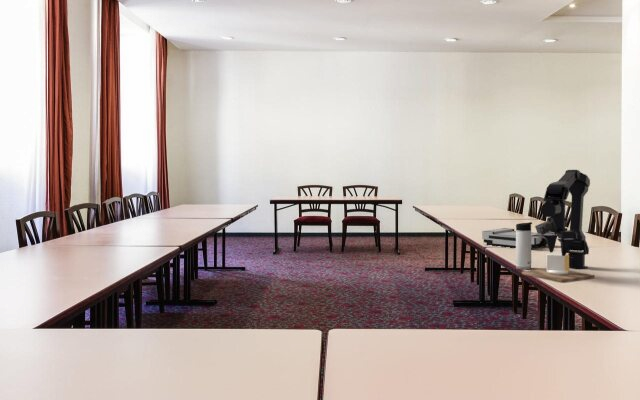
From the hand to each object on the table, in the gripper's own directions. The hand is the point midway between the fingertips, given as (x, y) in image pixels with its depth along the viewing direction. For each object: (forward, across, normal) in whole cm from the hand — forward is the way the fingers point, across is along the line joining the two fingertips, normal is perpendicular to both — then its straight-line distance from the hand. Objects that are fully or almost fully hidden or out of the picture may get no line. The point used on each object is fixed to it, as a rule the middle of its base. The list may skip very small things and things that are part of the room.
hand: (557, 254), depth 226 cm
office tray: (+9, -83, +24) cm, 87 cm away
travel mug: (+9, -18, -5) cm, 21 cm away
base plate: (+9, 0, 0) cm, 9 cm away
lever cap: (+8, 0, 0) cm, 8 cm away
